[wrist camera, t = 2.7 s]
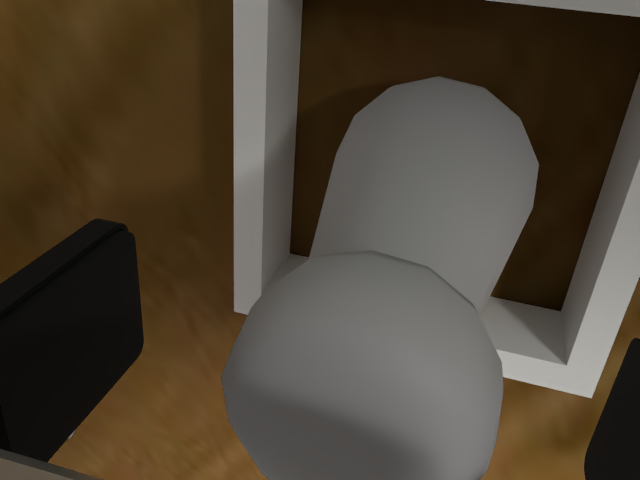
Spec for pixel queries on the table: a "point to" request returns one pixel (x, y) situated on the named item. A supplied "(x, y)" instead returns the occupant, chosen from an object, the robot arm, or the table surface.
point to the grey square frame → (499, 314)
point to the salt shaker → (391, 299)
